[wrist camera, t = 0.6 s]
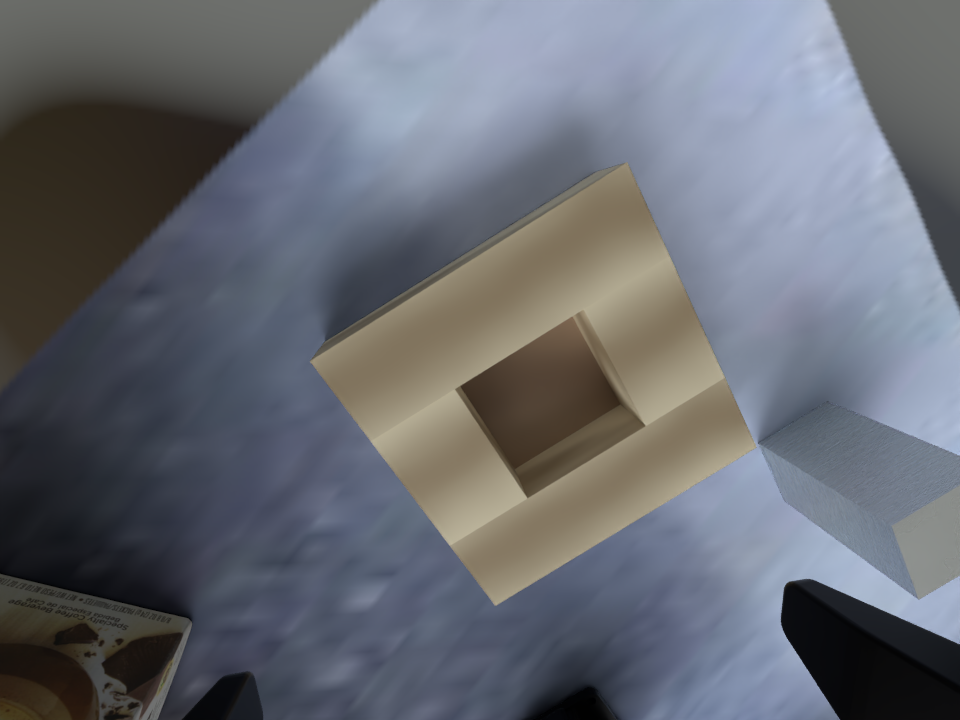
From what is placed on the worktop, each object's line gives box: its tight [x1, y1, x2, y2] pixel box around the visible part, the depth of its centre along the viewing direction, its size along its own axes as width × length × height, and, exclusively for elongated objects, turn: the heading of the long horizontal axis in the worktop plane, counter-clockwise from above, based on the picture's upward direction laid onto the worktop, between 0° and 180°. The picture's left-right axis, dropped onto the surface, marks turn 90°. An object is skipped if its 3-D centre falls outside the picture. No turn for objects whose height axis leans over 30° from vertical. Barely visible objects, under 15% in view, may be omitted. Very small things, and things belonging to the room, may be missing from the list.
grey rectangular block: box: [758, 401, 960, 600], centre depth 21 cm, size 4×4×7 cm
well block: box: [310, 163, 757, 606], centre depth 20 cm, size 13×13×3 cm
